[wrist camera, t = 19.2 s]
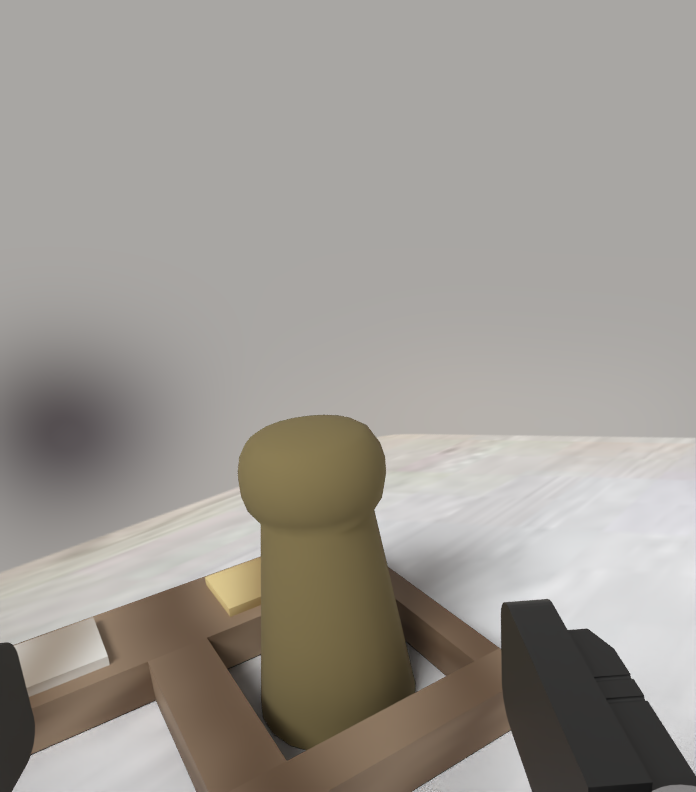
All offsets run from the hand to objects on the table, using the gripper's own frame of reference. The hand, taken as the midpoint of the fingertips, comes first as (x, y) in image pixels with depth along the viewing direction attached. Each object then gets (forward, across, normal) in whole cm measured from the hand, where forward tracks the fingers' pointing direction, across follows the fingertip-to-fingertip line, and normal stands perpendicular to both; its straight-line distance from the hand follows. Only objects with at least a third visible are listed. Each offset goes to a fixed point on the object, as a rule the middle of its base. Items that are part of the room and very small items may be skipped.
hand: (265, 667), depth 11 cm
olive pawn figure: (+12, 0, -11) cm, 16 cm away
